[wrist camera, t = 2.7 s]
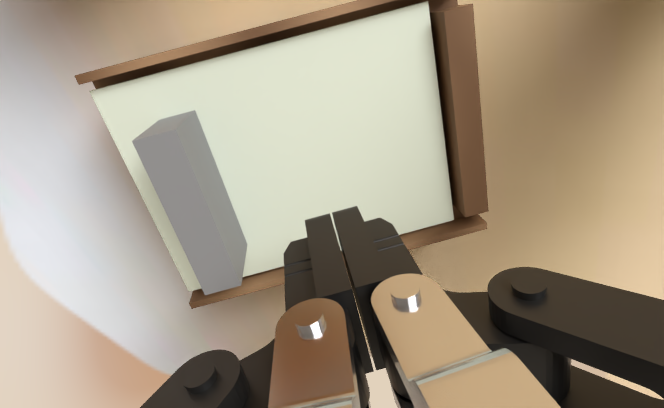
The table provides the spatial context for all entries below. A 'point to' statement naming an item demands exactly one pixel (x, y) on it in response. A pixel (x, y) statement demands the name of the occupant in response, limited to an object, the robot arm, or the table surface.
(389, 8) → the walnut box
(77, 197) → the table surface
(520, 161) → the table surface
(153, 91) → the cover plate
